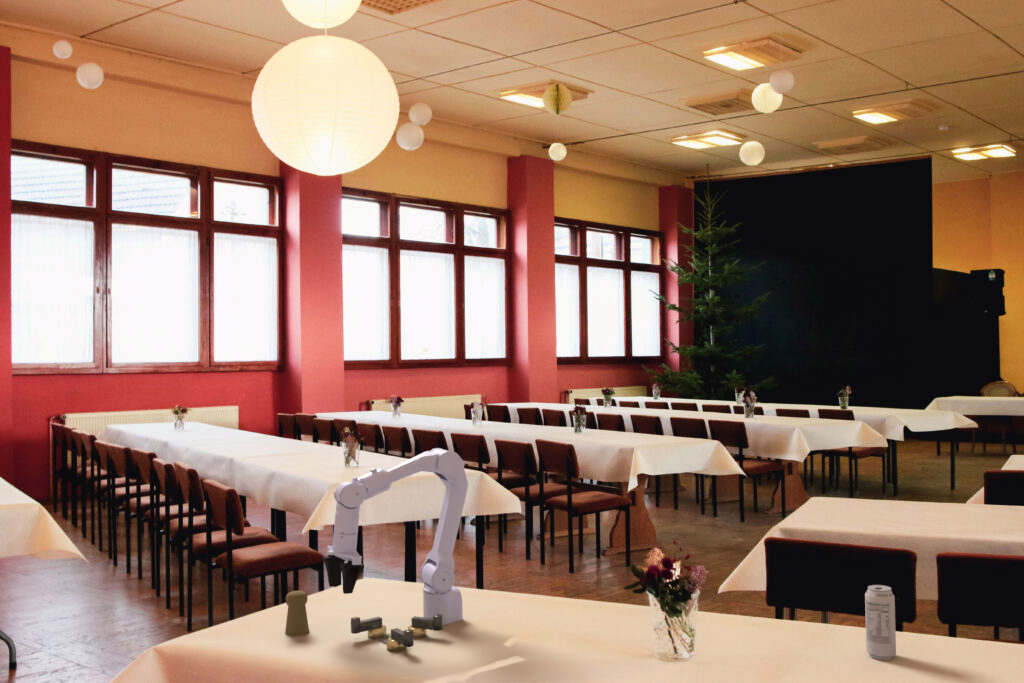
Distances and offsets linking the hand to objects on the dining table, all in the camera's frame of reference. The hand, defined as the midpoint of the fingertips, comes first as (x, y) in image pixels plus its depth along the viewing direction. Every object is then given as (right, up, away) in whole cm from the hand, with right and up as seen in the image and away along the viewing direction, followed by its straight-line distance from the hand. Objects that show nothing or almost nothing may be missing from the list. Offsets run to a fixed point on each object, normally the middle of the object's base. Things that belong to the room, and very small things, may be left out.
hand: (340, 589), depth 216 cm
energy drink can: (+122, -10, -19) cm, 124 cm away
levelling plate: (+13, -12, -4) cm, 18 cm away
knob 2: (+16, -11, -12) cm, 23 cm away
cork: (-11, -13, +4) cm, 17 cm away
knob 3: (+21, -11, -2) cm, 23 cm away
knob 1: (+7, -11, -2) cm, 13 cm away
